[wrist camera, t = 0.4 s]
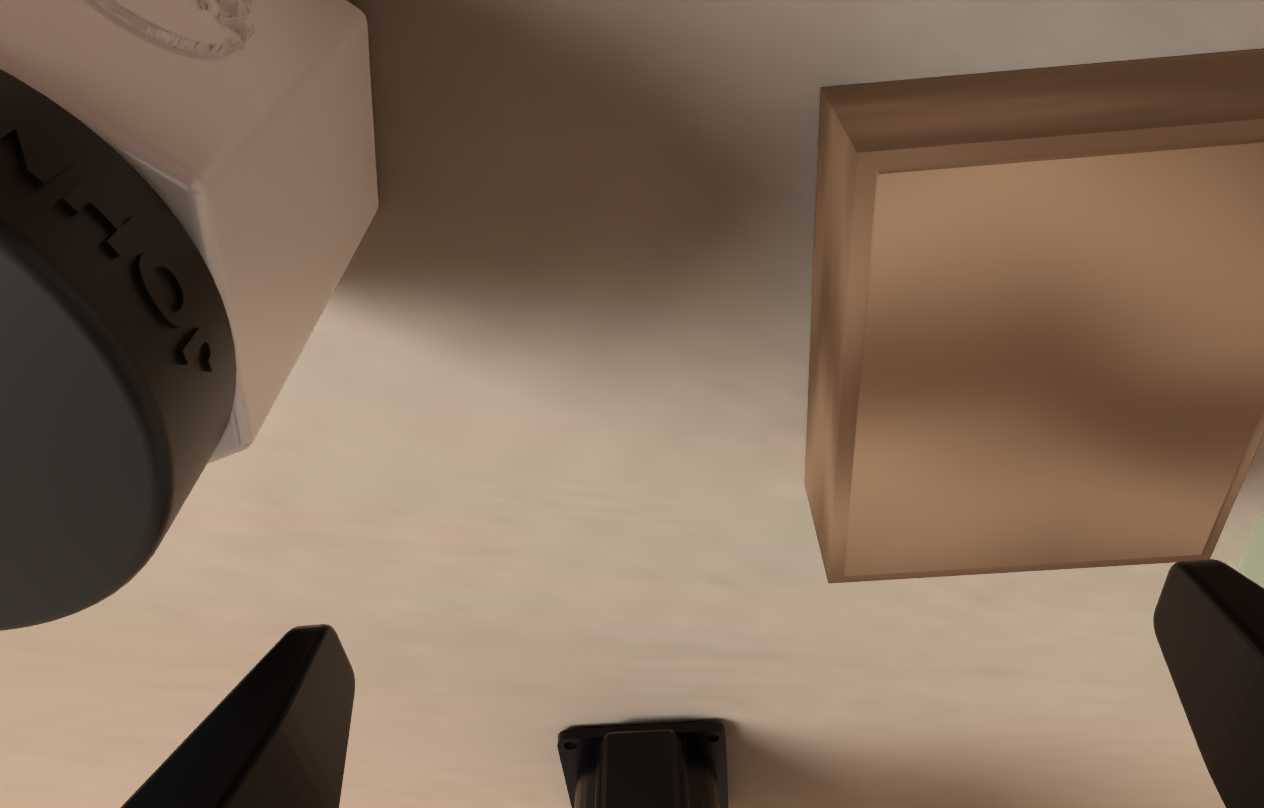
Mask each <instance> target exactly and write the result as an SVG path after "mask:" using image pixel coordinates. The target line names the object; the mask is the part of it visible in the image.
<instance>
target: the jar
mask: <svg viewBox="0 0 1264 808" xmlns="http://www.w3.org/2000/svg"><path fill="white" fill-rule="evenodd" d="M378 206H379V202H378V187H377V171H376V155H375V139H374V123H373V107H372V91H371V75H370V58H369V41H368V25H367V20H366V16H365V14H364V13H363V12H362V11H361V10H360V9H359V8H357V7H356V6H354V5H353V4H352V3H350V2H349V1H347V0H0V631H1V630H9V629H16V628H23V627H29V626H33V625H38V624H42V623H46V622H51V621H54V620H57V619H60V618H63V617H66V616H69V615H72V614H74V613H77V612H79V611H81V610H84V609H86V608H88V607H90V606H92V605H95V604H97V603H99V602H100V601H102V600H104V599H105V598H107V597H109V596H110V595H112V594H114V593H115V592H116V591H118V590H119V589H120V588H121V587H123V586H124V585H125V584H127V583H128V582H129V581H130V580H131V579H132V578H133V577H134V576H135V575H136V574H137V573H138V572H139V571H140V570H141V569H142V568H143V567H144V566H145V565H146V563H147V562H148V561H149V560H150V558H151V557H152V556H153V554H154V553H155V551H156V550H157V548H158V546H159V545H160V543H161V541H162V539H163V538H164V536H165V534H166V533H167V531H168V529H169V528H170V526H171V524H172V522H173V521H174V519H175V517H176V516H177V514H178V512H179V510H180V509H181V507H182V505H183V504H184V502H185V500H186V498H187V497H188V495H189V493H190V492H191V490H192V488H193V486H194V485H195V483H196V481H197V480H198V478H199V476H200V474H201V473H202V471H203V469H204V468H205V466H206V465H207V464H209V463H212V462H214V461H217V460H220V459H222V458H225V457H227V456H230V455H233V454H235V453H238V452H241V451H243V450H245V449H247V448H248V447H249V446H250V445H251V444H252V443H253V442H254V440H255V438H256V436H257V434H258V432H259V430H260V429H261V427H262V425H263V423H264V421H265V419H266V417H267V416H268V414H269V412H270V410H271V408H272V406H273V404H274V402H275V401H276V399H277V397H278V395H279V393H280V391H281V389H282V388H283V386H284V384H285V382H286V380H287V378H288V376H289V375H290V373H291V371H292V369H293V367H294V365H295V363H296V361H297V360H298V358H299V356H300V354H301V352H302V350H303V348H304V347H305V345H306V343H307V341H308V339H309V337H310V335H311V333H312V332H313V330H314V328H315V326H316V324H317V322H318V320H319V319H320V317H321V315H322V313H323V311H324V309H325V307H326V306H327V304H328V302H329V300H330V298H331V296H332V294H333V292H334V291H335V289H336V287H337V285H338V283H339V281H340V279H341V278H342V276H343V274H344V272H345V270H346V268H347V266H348V265H349V263H350V261H351V259H352V257H353V255H354V253H355V251H356V250H357V248H358V246H359V244H360V242H361V240H362V238H363V237H364V235H365V233H366V231H367V229H368V227H369V225H370V223H371V222H372V220H373V218H374V216H375V214H376V212H377V210H378Z"/></svg>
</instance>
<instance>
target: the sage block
mask: <svg viewBox="0 0 1264 808" xmlns="http://www.w3.org/2000/svg"><path fill="white" fill-rule="evenodd" d="M1237 571H1238V572H1239V573H1241V574H1242V575H1244V576H1246V577H1247V578H1249V579H1250V580H1252V581H1253V582H1255V583H1257V584H1258V585H1260V586H1261V587H1263V588H1264V514H1263V516H1262V518H1261V521H1260V523H1259V525H1258V527H1257V529H1256V531H1255V534H1254V536H1253V538H1252V540H1251V542H1250V544H1249V547H1248V549H1247V551H1246V553H1245V555H1244V557H1243V560H1242V562H1241V564H1240V566H1239V568H1238V570H1237Z"/></svg>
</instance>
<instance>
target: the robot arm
mask: <svg viewBox="0 0 1264 808" xmlns="http://www.w3.org/2000/svg"><path fill="white" fill-rule="evenodd" d="M1153 621H1154V630H1155V634H1156V637H1157V640H1158V643H1159V645H1160V648H1161V650H1162V653H1163V656H1164V658H1165V661H1166V663H1167V666H1168V669H1169V671H1170V674H1171V677H1172V679H1173V682H1174V684H1175V687H1176V690H1177V692H1178V695H1179V698H1180V700H1181V703H1182V705H1183V708H1184V711H1185V713H1186V716H1187V718H1188V721H1189V724H1190V726H1191V729H1192V732H1193V734H1194V737H1195V739H1196V742H1197V745H1198V747H1199V750H1200V752H1201V755H1202V757H1203V759H1204V762H1205V764H1206V767H1207V769H1208V772H1209V774H1210V776H1211V778H1212V780H1213V782H1214V784H1215V786H1216V788H1217V790H1218V792H1219V794H1220V796H1221V798H1222V800H1223V802H1224V804H1225V806H1226V808H1264V588H1263V587H1261V586H1260V585H1258V584H1257V583H1255V582H1253V581H1252V580H1250V579H1249V578H1247V577H1246V576H1244V575H1242V574H1241V573H1239V572H1238V571H1236V570H1235V569H1233V568H1231V567H1230V566H1228V565H1227V564H1225V563H1223V562H1221V561H1218V560H1213V559H1205V560H1191V561H1180V562H1177V563H1175V564H1174V565H1173V566H1172V567H1171V568H1170V570H1169V572H1168V575H1167V578H1166V581H1165V584H1164V586H1163V589H1162V592H1161V595H1160V598H1159V600H1158V603H1157V606H1156V609H1155V612H1154V620H1153ZM354 693H355V678H354V672H353V669H352V667H351V664H350V662H349V660H348V658H347V655H346V653H345V651H344V649H343V647H342V644H341V642H340V640H339V638H338V635H337V633H336V632H335V630H334V628H332V627H331V626H330V625H326V624H320V625H307V626H298V627H295V628H293V629H291V630H290V631H288V632H287V633H286V634H285V635H284V636H283V637H282V638H281V639H280V640H279V642H278V643H277V644H276V645H275V646H274V647H273V648H272V649H271V650H270V651H269V652H268V653H267V654H266V655H265V656H264V657H263V658H262V659H261V660H260V661H259V663H258V664H257V665H256V666H255V667H254V668H253V669H252V670H251V671H250V672H249V673H248V674H247V675H246V676H245V677H244V678H243V679H242V680H241V681H240V683H239V684H238V685H237V686H236V687H235V688H234V689H233V690H232V691H231V692H230V693H229V694H228V695H227V696H226V697H225V698H224V699H223V700H222V701H221V703H220V704H219V705H218V706H217V707H216V708H215V709H214V710H213V711H212V712H211V713H210V714H209V715H208V716H207V717H206V718H205V719H204V720H203V721H202V723H201V724H200V725H199V726H198V727H197V728H196V729H195V730H194V731H193V732H192V733H191V734H190V735H189V736H188V737H187V738H186V739H185V740H184V741H183V743H182V744H181V745H180V746H179V747H178V748H177V749H176V750H175V751H174V752H173V753H172V754H171V755H170V756H169V757H168V758H167V759H166V760H165V761H164V763H163V764H162V765H161V766H160V767H159V768H158V769H157V770H156V771H155V772H154V773H153V774H152V775H151V776H150V777H149V778H148V779H147V780H146V781H145V783H144V784H143V785H142V786H141V787H140V788H139V789H138V790H137V791H136V792H135V793H134V794H133V795H132V796H131V797H130V798H129V799H128V800H127V801H126V803H125V804H124V805H123V806H122V807H121V808H339V803H340V796H341V788H342V781H343V774H344V766H345V759H346V752H347V744H348V737H349V730H350V722H351V715H352V708H353V700H354ZM557 747H558V751H559V755H560V760H561V764H562V768H563V772H564V776H565V781H566V785H567V789H568V793H569V798H570V802H571V806H572V808H728V786H727V761H726V737H725V728H724V726H723V725H722V724H721V723H718V722H695V723H677V724H658V725H640V726H621V727H602V728H584V729H568V730H564V731H562V732H560V733H559V734H558V746H557Z"/></svg>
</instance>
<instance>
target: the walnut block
mask: <svg viewBox="0 0 1264 808" xmlns="http://www.w3.org/2000/svg"><path fill="white" fill-rule="evenodd" d="M1263 434H1264V49H1255V50H1243V51H1232V52H1220V53H1209V54H1197V55H1186V56H1175V57H1163V58H1152V59H1140V60H1129V61H1117V62H1106V63H1094V64H1083V65H1072V66H1060V67H1049V68H1037V69H1026V70H1014V71H1003V72H991V73H980V74H969V75H957V76H946V77H934V78H923V79H911V80H900V81H888V82H877V83H866V84H854V85H843V86H831V87H821V89H820V114H819V139H818V164H817V189H816V214H815V239H814V264H813V289H812V314H811V339H810V364H809V389H808V414H807V439H806V464H805V488H806V492H807V496H808V500H809V504H810V509H811V513H812V517H813V521H814V525H815V529H816V534H817V538H818V542H819V546H820V550H821V554H822V559H823V563H824V567H825V571H826V575H827V580H828V583H842V582H859V581H875V580H891V579H908V578H924V577H941V576H957V575H973V574H990V573H1006V572H1023V571H1039V570H1055V569H1072V568H1088V567H1105V566H1121V565H1138V564H1154V563H1170V562H1180V561H1191V560H1205V559H1210V557H1211V555H1212V553H1213V550H1214V548H1215V546H1216V543H1217V541H1218V539H1219V536H1220V534H1221V532H1222V529H1223V527H1224V525H1225V522H1226V520H1227V518H1228V515H1229V513H1230V511H1231V509H1232V506H1233V504H1234V502H1235V499H1236V497H1237V495H1238V492H1239V490H1240V488H1241V485H1242V483H1243V481H1244V478H1245V476H1246V474H1247V471H1248V469H1249V467H1250V464H1251V462H1252V460H1253V458H1254V455H1255V453H1256V451H1257V448H1258V446H1259V444H1260V441H1261V439H1262V437H1263Z"/></svg>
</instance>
